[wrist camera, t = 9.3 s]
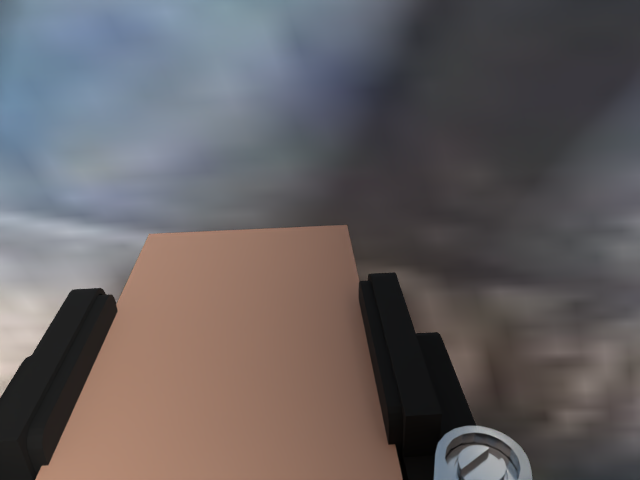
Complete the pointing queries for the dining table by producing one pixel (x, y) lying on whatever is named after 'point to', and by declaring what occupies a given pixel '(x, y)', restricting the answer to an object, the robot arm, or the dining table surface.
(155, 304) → the placed domino
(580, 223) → the dining table surface
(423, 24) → the dining table surface
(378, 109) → the dining table surface
